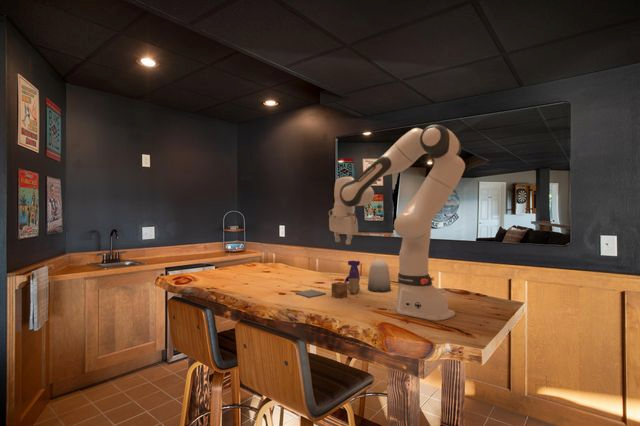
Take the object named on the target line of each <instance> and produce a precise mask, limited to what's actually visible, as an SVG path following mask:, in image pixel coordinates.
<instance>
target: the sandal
mask: <svg viewBox="0 0 640 426" xmlns="http://www.w3.org/2000/svg"><path fill="white" fill-rule="evenodd" d="M347 265H348V266H350V269H349V273H348V276H346V277H345V280H344V281H343V283H347V290H349V291H350V293H351V295H358V291H359V290H360V288H361V287H360V286H361V285H360V280H361V276H360V271H359V268H358V267H359V266H360V265H361V261H360V260H348V261H347Z"/></svg>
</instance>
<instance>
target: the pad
mask: <svg viewBox="0 0 640 426" xmlns="http://www.w3.org/2000/svg"><path fill="white" fill-rule="evenodd" d="M295 295H298V296H302V297H305V298H308V299H311V298H314V297H321V296H325V295H327V293H326V292H323V291H320V290H315V289H308V290H302V291H297V292H295Z"/></svg>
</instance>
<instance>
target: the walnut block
mask: <svg viewBox="0 0 640 426" xmlns="http://www.w3.org/2000/svg"><path fill="white" fill-rule="evenodd" d="M347 283H348V282H347ZM347 283H344V282H342V281H338V282H332V283H331V297H332V298H336V299H339V300H340V299H343V298H347V297H348V289H347Z"/></svg>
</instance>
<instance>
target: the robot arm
mask: <svg viewBox="0 0 640 426" xmlns="http://www.w3.org/2000/svg"><path fill="white" fill-rule="evenodd" d="M461 152H462V144H461V141H460V139H459V137H457V136H456V134H454V133H453V131H451V130H450V129H448V128H446V127H445V126H444V125H441V124H431V125H428V126H426V127H425V128H424V129H422V128H419V127H415V128H411V130H409V131H407V132H406V133H405V134H403V135H402V136H401V137H400V138H399V139H398V140H397V141H395V143H393V145H392V146H390V148H389V149H388V150H386V152H384V154H382V155H381V156H380V157H379V158H378V159H377V160H376V161H374V162H373V163H372V164H371V165H369V166H368V167H367V168H366V169H365V170H363V171H362V172H361V173H360V174H359V175H357V177H356V178H354V177H353V176H350V175H347V176H344V175H343V176H340V177H338V178H337V179H336V180H335V182H334V191H333V193H334V194H333V195H334V196H333V197H334V203H333V208H332V209H331V210H329V211H328V216H329V219H328V222H329V223H328V226H329V228H328V229H329V231H331V232H333V233H334V234H333V235H334V240H335V243H340V242H341V237H340V234H345V235H346V239H345V244H346V245H351V244H352V240H353V235H354V236H355V235H357V234H358V233H359V223H358V218H357V216H356V214H355V213H354V207H359V206H360V207H364V206H368V205H370V204H372V202H373V201H374V199H375V191H374V189H373V187H372V186H373V185H374V184H375V183H376V182H377V181H379V179H382V177H385V176H388V175H392V174H398V173H402V172H404V171H405V170H407V169H409V167H411V166H412V165H413V164H414V163H415V162H416V161H417V160H418V159H420V158H421V157H422V156H423V155H425V154H427V155H428V156H429V157H430V158H431V159H433V160H434V162H433V163H434V164H433V166H432V168H431V169H430V171H429V173H428V175H427V176H426V178H425V179H424V181H423V182H422V184H421V185H420V187H419V188H418V190H417V191H416V193H415V194H414V195H413V197H412V198H411V199H410V200H409V201H408V203H407V204H406V206H404V208H403V209H402V210H401V212H400V214H399V215H398V216H397V217H396V218H395V219H394V222H393V223H394V224H393V228H394V232H395V233H396V235H398V237H400V238H402V240H401V245H400V250H399V254H398V255H399V256H398V258H399V262H398V263H399V265H398V266H399V267H398V268H399V269H398V275H397V282H398V291H397V292H398V293H397V299H396V303H395V306H394V309H395V310H396V312H397V314H399V315H404V316H409V317H415V318H419V319H424V320H429V321H435V322H436V321H444V320H447V319H451V318H453V317H454V316H455V311H454V310H453V309H452V310H451V309H449V303H448V299H447V297H446V296H445V295H444V294H443V293H442V292H441V291H440V290H439V289H438V288H437V287H435V285H433V282H432V281H435V276H434V277H433V276H432V277H431V275H430V274H429V251H430V243H431V236H432V235H431V234H432V225H433V224H432V223H433V222H432V220H433V219H434V218H435V217H436V216H437V214H438V213H439V212H440V211H441V209H443V207H444V206H445V204H446V203H447V201H448V199H449V198H450V196H451V195H452V193H453V192H454V191H455V189H456V187H457V185H458V183H459V182H460V180H461V178H462V176H463V174H464V171H465V168H466V163H465V162H464V160H463V158H462V157H460V156H459V155H460V154H461Z"/></svg>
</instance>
